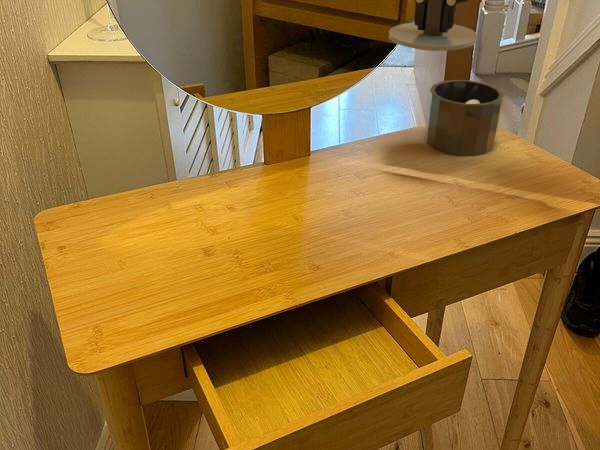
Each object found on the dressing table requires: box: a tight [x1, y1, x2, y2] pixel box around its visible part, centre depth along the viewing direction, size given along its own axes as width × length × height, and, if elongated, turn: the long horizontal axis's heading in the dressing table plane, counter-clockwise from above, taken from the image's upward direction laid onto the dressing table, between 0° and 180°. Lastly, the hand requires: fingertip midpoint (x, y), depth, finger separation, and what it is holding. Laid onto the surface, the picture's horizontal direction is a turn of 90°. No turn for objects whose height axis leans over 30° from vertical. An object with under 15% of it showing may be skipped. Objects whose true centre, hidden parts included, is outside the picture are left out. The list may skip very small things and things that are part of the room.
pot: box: [423, 79, 504, 157], centre depth 103 cm, size 11×11×10 cm
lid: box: [388, 0, 479, 52], centre depth 88 cm, size 12×12×6 cm
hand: (433, 29), depth 88 cm, fingers closed on lid, 3 cm apart
